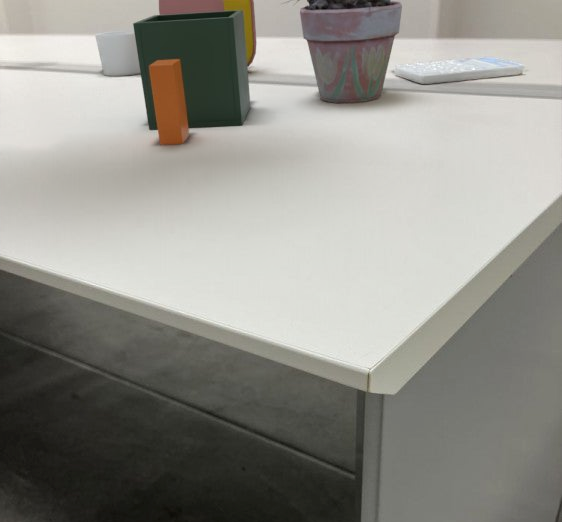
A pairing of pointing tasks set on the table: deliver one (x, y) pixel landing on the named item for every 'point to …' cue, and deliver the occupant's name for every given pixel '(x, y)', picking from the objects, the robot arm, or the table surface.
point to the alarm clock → (180, 3)
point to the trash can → (199, 64)
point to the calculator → (458, 70)
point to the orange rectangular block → (169, 101)
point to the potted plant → (350, 46)
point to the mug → (118, 53)
